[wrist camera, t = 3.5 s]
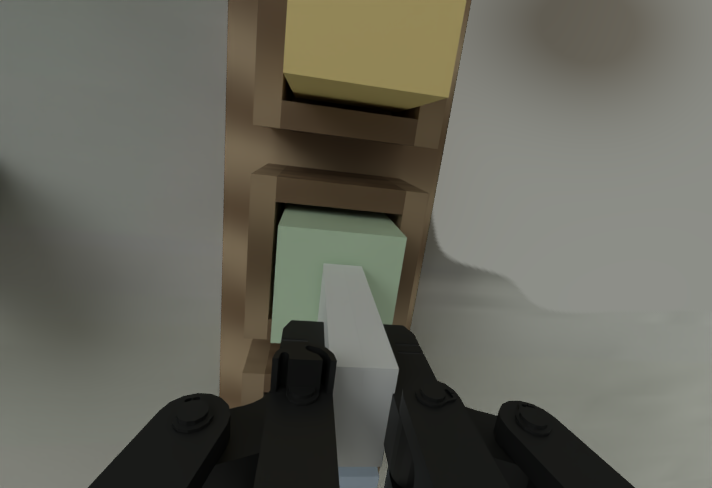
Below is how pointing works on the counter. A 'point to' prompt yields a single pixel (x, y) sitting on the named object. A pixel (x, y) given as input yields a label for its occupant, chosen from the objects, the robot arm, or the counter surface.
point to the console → (307, 182)
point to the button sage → (333, 259)
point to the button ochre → (372, 51)
